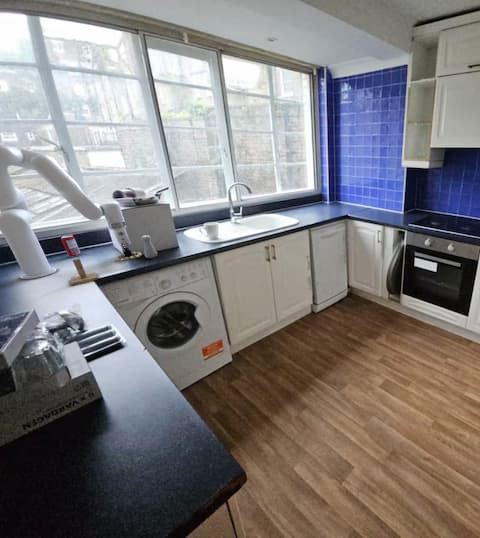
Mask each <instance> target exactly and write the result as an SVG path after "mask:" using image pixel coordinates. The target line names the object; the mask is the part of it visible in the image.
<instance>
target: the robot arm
mask: <svg viewBox="0 0 480 538" xmlns="http://www.w3.org/2000/svg"><path fill="white" fill-rule="evenodd" d="M11 166H14V167H18V168H22V169H28V170H32V171H35V172H36V173H37V174H39V175H40V177H42V178H43V179H44V180H45V181H46V182H47V183H48V184H49V185H50V186H51V187H52V188H53V189H55V190H56V191H57V192H58V193H59V194H60V195H61V196H62V197H63V199H65V200H66V201H67V202H68V203H69V204H70V206H72V207H73V208H74V209H75V210H76V211H77V212H78V213H79V214H80V215H82V216H83V217H84V218H85V219H87V220H90V221H98V220H100V219H101V218H102V217H104V218H105V221H106V223H107V226H108V228H109V230H110V231H113V235H114V237H115V239H116V241H117V244H118V245H119V246H120V248H121V251H122V254H124V255H125V257H124V258H127V257H132V256H133V255H132V253H131V252H132V251H131V250H130V247H129V246H132V243H131V239H130V237H129V234H128V232H127V230H126V228H127V222H126V220H125V217H124V215H123V211H122V209H121V205H120V204H119V202H117V201H108V202H99V203H97V202H93V201H92V200H91V199H90V198H89V197H88V196H87V195H86V194H85V192H84V191H83V190H82V188H81V187H80V185H79V184H78V183H77V181H76V180H75V179H74V178H73V177H72V176H70V175H69V174H68V173H67V172H66V170H64V169H63V167H61V166H60V165H59V164H58V161H57V160H56V159H55V158H54V157H52V156H50V155H48V154H44V153H39V152H35V151H32V150H31V151H30V150H27V149H24V148H20V147H15V146H13V145H7V144H6V145H5V144H0V233H1V235H3V237H4V239H5V240H6V242H7V244H8V246H9V248H10V250H11V252H12V253H13V256H14V258H15V260H16V262H17V264H18V266H19V267H20V269H21V272H22V274H20V275H19V277H20V279H22V280H32V279H38V278H43V277H46V276H48V275H49V276H50V275H51V274H54V273H56V272H57V267H53V266H52V267H51V265H50V263H49V261H48V259H47V257H46V254H45V252H44V249H43V248H42V246H41V244H40V242H39V240H38V237H37V235H36V234H35V231H34V230H33V228H32V227H31V224H32V222H33V217H32V213H31V210H30V207H29V205H28V202H27V200H26V197H25V195H24V193H23V192H22V191H21V189H19V188H18V187H16V186H15V185H14V183H13V180H12V177H11V175H10V172H9V170H8V168H9V167H11ZM124 239H125V240H124ZM123 245H124V246H123ZM124 247H125V248H124Z"/></svg>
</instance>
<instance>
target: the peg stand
mask: <svg viewBox="0 0 480 538" xmlns="http://www.w3.org/2000/svg"><path fill="white" fill-rule="evenodd" d="M72 262H73V264H74V267H75V269H76V272H77V274H78V275H75V276H72V277H70V284H71V286H72V287H73V286H77V285H80V284H85V283H89V282H93V281H97V280H99V279H98V276H97V273H96V271H95V272H90V273H86V270H85V268H84V266H83V263H82V261H81V259H80V258H74V259H72Z"/></svg>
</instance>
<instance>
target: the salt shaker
mask: <svg viewBox="0 0 480 538" xmlns="http://www.w3.org/2000/svg"><path fill="white" fill-rule="evenodd" d="M140 240H141V242H143V250H144V251H143V252H144V253H143V255H144V257H145V258H146V259H153V258H156V257H157V256H158V252H157V250H156V248H155V247H154V245H153V243H152V241H151V240H152V237H151V235H142V236H141V237H140Z"/></svg>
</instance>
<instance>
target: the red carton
mask: <svg viewBox="0 0 480 538" xmlns="http://www.w3.org/2000/svg"><path fill="white" fill-rule="evenodd" d="M60 240H61V243H62V244H63V247H64V250H65V251H66V254H67V256H68V257H69V258H75V257H79V256H81V255H82V253H81V250H80V248H79V246H78V245H79V244H78V243H77V240H76V239H75V236H74V235H72V234H70V235H69V234H68V235H63V236H61V239H60Z"/></svg>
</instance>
